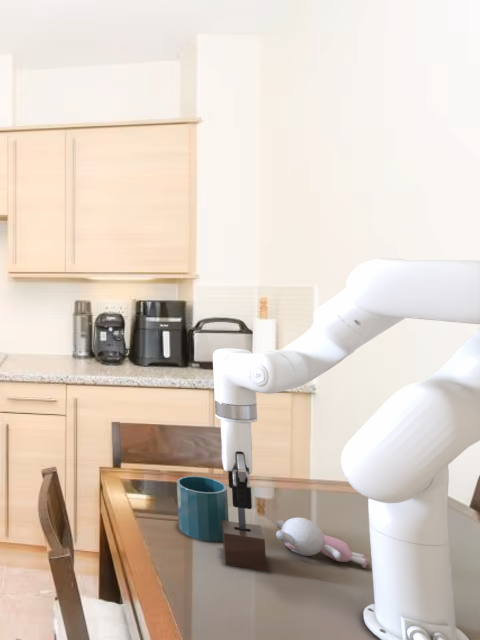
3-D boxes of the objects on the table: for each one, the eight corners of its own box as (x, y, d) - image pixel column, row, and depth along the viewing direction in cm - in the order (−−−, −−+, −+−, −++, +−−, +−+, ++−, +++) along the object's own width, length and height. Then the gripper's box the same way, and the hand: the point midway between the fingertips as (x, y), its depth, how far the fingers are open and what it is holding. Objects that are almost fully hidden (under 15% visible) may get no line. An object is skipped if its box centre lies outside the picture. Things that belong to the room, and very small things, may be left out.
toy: (351, 572, 103) (270, 529, 110) (365, 542, 102) (282, 500, 109) (359, 594, 96) (271, 546, 103) (374, 562, 95) (284, 515, 102)
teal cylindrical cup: (231, 544, 107) (228, 496, 108) (178, 536, 111) (176, 489, 112) (227, 524, 117) (225, 479, 117) (179, 517, 121) (177, 473, 121)
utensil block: (266, 571, 97) (264, 539, 97) (225, 564, 100) (223, 533, 100) (262, 556, 103) (260, 525, 103) (223, 550, 105) (221, 520, 106)
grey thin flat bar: (250, 562, 100) (245, 478, 102) (238, 560, 101) (233, 477, 102) (250, 560, 101) (245, 477, 102) (238, 558, 102) (233, 476, 103)
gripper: (213, 400, 113) (216, 479, 112) (217, 419, 97) (221, 512, 96) (251, 402, 110) (255, 484, 109) (262, 423, 94) (267, 519, 93)
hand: (239, 497), depth 102 cm, fingers open, 9 cm apart
